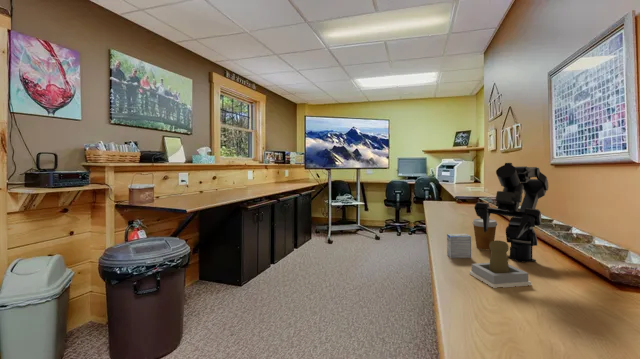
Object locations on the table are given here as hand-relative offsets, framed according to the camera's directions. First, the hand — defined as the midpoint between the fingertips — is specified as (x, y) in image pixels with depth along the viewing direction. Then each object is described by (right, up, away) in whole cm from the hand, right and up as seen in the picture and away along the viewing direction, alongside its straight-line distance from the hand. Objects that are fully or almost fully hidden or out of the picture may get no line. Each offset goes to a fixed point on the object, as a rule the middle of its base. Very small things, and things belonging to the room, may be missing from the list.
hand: (500, 234), depth 98 cm
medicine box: (-4, -13, +21) cm, 25 cm away
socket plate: (-2, -14, -3) cm, 14 cm away
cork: (-2, -13, -3) cm, 13 cm away
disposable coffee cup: (+12, -12, +32) cm, 36 cm away
